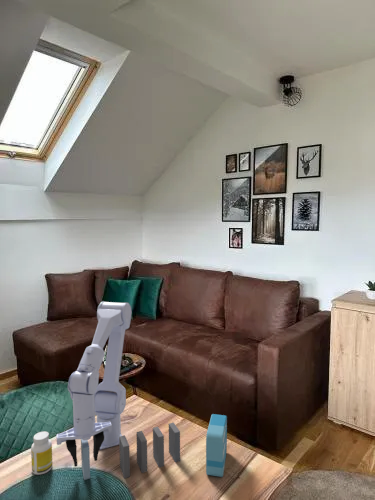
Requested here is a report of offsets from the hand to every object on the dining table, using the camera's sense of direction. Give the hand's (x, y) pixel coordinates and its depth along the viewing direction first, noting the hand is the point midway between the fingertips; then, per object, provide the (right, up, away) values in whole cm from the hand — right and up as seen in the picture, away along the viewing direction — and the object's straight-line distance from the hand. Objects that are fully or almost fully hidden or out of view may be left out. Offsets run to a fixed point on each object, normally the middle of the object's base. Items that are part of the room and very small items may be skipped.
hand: (85, 461), depth 95 cm
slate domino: (0, -3, 0) cm, 3 cm away
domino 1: (+11, -3, +1) cm, 11 cm away
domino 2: (+15, -3, +3) cm, 16 cm away
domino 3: (+20, -3, +5) cm, 21 cm away
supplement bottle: (-13, -4, +2) cm, 14 cm away
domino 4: (+24, -3, +7) cm, 26 cm away
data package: (+37, -3, +4) cm, 37 cm away
